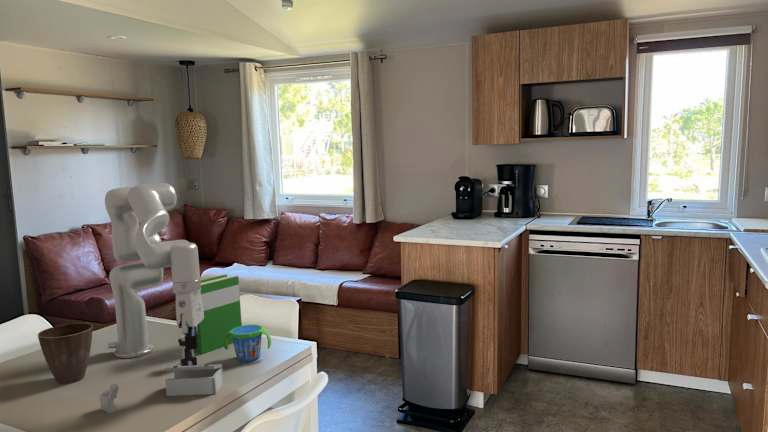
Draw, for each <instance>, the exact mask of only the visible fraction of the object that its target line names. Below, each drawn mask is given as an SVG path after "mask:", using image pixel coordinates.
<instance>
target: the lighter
mask: <svg viewBox="0 0 768 432" xmlns="http://www.w3.org/2000/svg"><path fill="white" fill-rule="evenodd" d="M119 389H120V388H119V385H118V384H117V383H113V384H110V385H109V389H106V390H103V391H102V393H99V403H100V410H102V411H104V412H107V413H112V412H115V410H116V408H115V407H116V406H115V399H116V398H117V396H118V392H119Z"/></svg>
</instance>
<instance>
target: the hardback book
mask: <svg viewBox="0 0 768 432" xmlns="http://www.w3.org/2000/svg"><path fill="white" fill-rule="evenodd" d="M200 283H201V290H200V292H201V297H202V303H203V311H204V319H203V320H202V321H201V322H200V323H199V324H198V325H197V329H198V332H197V334H198V347H197V349H193V352H194V353H195V354H199V355H206V354H208V353H211V352H214V351H217V350H218V349H222V348H224V338H225V336H226V334H227V333H228V332H230V331H231V330H232V329H233V328H236V327H239V326H243V324H242V307H241V296H240V278H239V275H237V276H232V277H231V276H228V274H222V275H217V276H214V277H209V278H206V279H205V278H204V279H200ZM227 344H228V346H231V345H234V344H233V339H232V337H231V335H230V334H229V335H228V337H227ZM216 349H217V350H216Z"/></svg>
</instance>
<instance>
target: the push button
mask: <svg viewBox="0 0 768 432" xmlns="http://www.w3.org/2000/svg"><path fill="white" fill-rule="evenodd" d="M177 342H178V344H179V346H180V347H181V358H180V360H179V361H180V362H179V363H176V364H175V366H176V365H178V366H193V365H198V358H197V356H195V354H194V353H195V352H193V349H186V347H185V336H184V334H183V335H181V336H180V338H179V339H177Z"/></svg>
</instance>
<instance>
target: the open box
mask: <svg viewBox="0 0 768 432" xmlns="http://www.w3.org/2000/svg"><path fill="white" fill-rule="evenodd" d="M223 372H224V371H223V366H222V367H220V368H216V369H202V370H178V371H173V376H174V378H166V379H165V382H164V383H165V393H166V397H174V396H175V397H176V396H196V395H197V396H199V395H200V396H201V395H216V394H217V393H218V392H219V390H220V389H221V388H222V386H223V384H224V377H223V376H224V375H223V374H224V373H223Z"/></svg>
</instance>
